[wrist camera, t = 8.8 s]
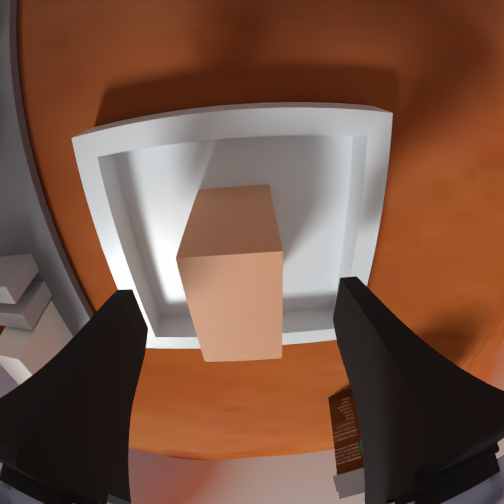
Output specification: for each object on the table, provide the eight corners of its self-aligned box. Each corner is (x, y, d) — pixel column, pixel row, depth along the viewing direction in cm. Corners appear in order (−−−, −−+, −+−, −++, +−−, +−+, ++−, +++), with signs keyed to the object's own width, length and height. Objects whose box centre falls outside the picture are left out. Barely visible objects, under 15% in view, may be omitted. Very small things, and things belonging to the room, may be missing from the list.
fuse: (81, 349, 19) (61, 405, 14) (53, 346, 19) (31, 397, 14) (51, 300, 16) (19, 359, 12) (22, 299, 16) (-9, 352, 12)
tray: (345, 312, 17) (353, 337, 16) (151, 322, 18) (144, 347, 16) (372, 105, 11) (392, 112, 9) (93, 127, 11) (71, 137, 9)
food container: (422, 394, 26) (446, 469, 18) (376, 418, 28) (393, 491, 20) (380, 361, 21) (413, 473, 13) (319, 393, 23) (335, 499, 15)
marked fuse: (272, 277, 15) (281, 358, 11) (213, 280, 15) (204, 361, 11) (268, 184, 12) (282, 251, 8) (198, 189, 12) (175, 258, 8)
